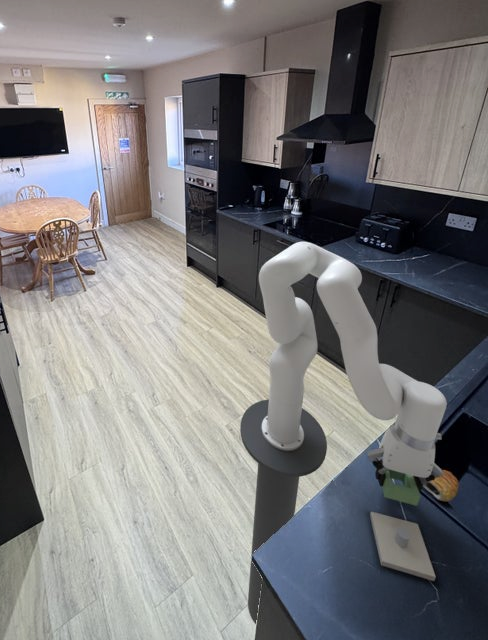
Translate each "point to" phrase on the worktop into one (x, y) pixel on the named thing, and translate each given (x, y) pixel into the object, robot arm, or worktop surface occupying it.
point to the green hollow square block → (401, 488)
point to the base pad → (398, 554)
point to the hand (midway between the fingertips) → (396, 484)
